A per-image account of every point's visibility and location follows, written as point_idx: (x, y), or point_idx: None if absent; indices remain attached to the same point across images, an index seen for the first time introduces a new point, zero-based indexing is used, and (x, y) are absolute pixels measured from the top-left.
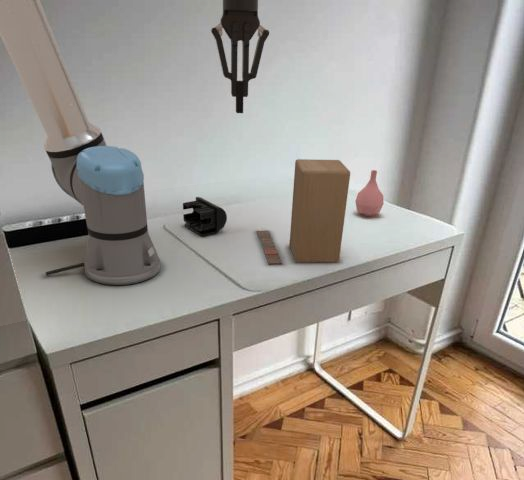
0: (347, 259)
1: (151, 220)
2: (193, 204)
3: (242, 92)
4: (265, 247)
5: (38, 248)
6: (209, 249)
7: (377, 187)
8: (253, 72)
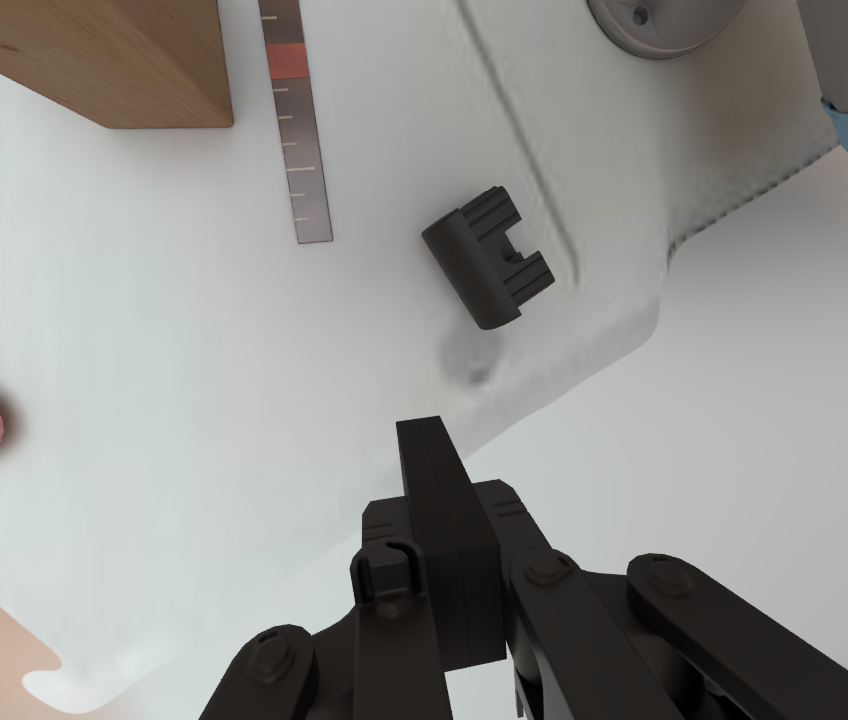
0: None
1: (608, 317)
2: (525, 262)
3: (417, 492)
4: (305, 102)
5: None
6: (460, 103)
7: None
8: (268, 702)
